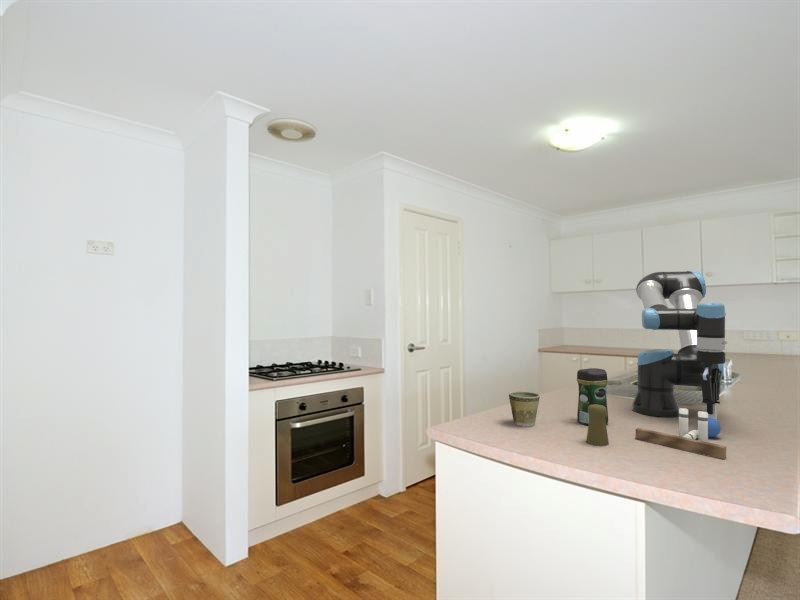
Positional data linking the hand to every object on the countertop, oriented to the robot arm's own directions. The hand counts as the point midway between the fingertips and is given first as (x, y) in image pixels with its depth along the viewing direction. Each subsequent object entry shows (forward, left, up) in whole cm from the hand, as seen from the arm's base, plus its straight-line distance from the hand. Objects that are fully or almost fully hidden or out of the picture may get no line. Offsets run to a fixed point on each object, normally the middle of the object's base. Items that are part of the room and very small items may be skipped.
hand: (711, 423), depth 141 cm
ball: (0, -10, +1) cm, 10 cm away
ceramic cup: (-48, -32, -2) cm, 58 cm away
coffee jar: (-32, -17, -2) cm, 36 cm away
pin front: (-2, -14, -1) cm, 14 cm away
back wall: (-5, -28, -2) cm, 28 cm away
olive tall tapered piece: (-24, -38, -2) cm, 45 cm away
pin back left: (-5, -16, -2) cm, 17 cm away
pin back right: (0, -16, -2) cm, 17 cm away
